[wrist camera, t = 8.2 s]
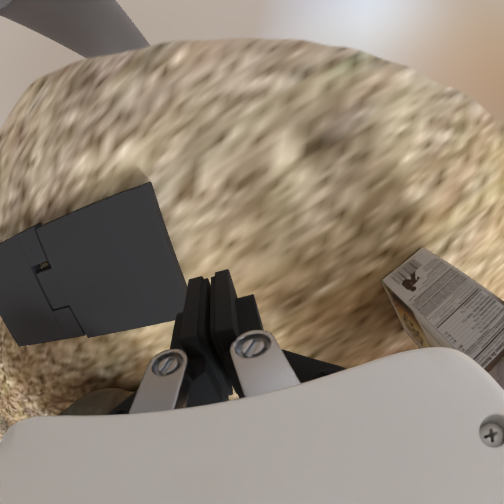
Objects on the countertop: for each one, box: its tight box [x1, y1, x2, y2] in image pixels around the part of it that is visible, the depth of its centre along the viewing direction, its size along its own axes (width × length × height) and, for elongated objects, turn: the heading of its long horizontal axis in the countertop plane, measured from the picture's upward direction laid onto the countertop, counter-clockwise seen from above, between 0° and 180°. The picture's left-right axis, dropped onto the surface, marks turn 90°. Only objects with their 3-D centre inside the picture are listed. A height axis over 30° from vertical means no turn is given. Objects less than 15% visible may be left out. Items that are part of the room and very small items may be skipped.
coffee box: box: [382, 247, 504, 390], centre depth 21 cm, size 9×6×16 cm
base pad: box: [0, 223, 85, 346], centre depth 23 cm, size 12×12×2 cm
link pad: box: [36, 182, 187, 338], centre depth 23 cm, size 12×14×2 cm
